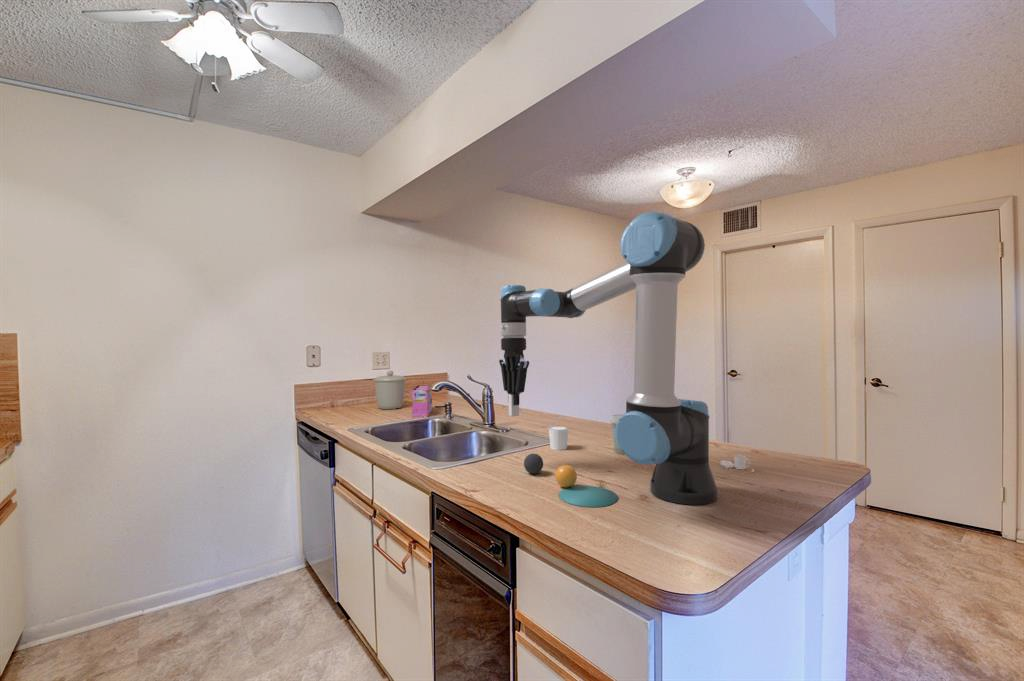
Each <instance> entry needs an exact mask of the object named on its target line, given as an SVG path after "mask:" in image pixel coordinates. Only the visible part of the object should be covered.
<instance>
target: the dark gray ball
mask: <svg viewBox="0 0 1024 681" xmlns="http://www.w3.org/2000/svg"><path fill="white" fill-rule="evenodd" d="M523 466H524V469H525V471H526V472H528V473H530V474H532V475H533V474H534V475H535V474H538V473H540V472H541V471H542V470H543V467H544V460H543V458H542V456H540V454H538V453H530V454H528V455H526V457H525V458H524V460H523Z"/></svg>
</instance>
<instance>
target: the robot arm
mask: <svg viewBox="0 0 1024 681" xmlns="http://www.w3.org/2000/svg"><path fill="white" fill-rule="evenodd" d="M619 245H620V253H621V256H622V257H623V259H624V260H625V262H623V263H621V264H619V265H617V266H615V267H613V268H610V269H608V270H606V271H605V272H603V273H600V274H599V275H597V276H594V277H592V278H591V279H588V280H587V281H584V282H583V283H580V284H579V285H576V286H574V287H572V288H571V289H568V290H566V291H555V290H554V289H552V288H539V289H533V290H527V289H526V286H525V285H521V284H510V285H509V284H506V285H504V286H502V287H501V289H500V290H501V291H500V298H499V301H500V319H501V321H500V322H501V325H500V329H501V330H500V332H501V333H500V334H501V337H502V338H501V339H500V345H501V346H500V348H501V349H500V350H502V351H504V352H503V358H502V359H499V360H498V363H499V366H500V368H501V369H500V370H501V377H502V384H503V391H504V392H507V394H508V396H507V397H508V399H507V401H508V416H509V417H516V416H520V394H522V393H525V390H526V389H525V387H526V382H527V380H526V379H527V374H528V368H529V366H530V361H529V360H526V359H525V356H524V355H525V354H524V351H526V350H527V339H526V338H525V337H526V336H527V317H528V318H529V317H531V318H532V317H549V318H550V317H551V318H554V317H555V318H567V319H573V318H574V319H575V318H580V317H582V316H583V315H584V314H585V312H586V311H587V310H589V309H592V308H594V307H596V306H598V305H600V304H603V303H606V302H608V301H610V300H612V299H615V298H617V297H619V296H622V295H625V294H627V293H628V292H632V291H634V290H636V291H635V292H636V294H635V330H634V336H635V337H634V364H633V366H634V367H633V368H634V369H633V392H632V393H631V394H630V395H629V396H628V397H627V398H626V402H625V403H626V405H625V413H623V414H624V415H623V416H622V417H621V418H620V419H619V420H618V422H617V425H616V439H617V442H618V444H619V446H620V448H621V450H622V451H624V453H625V456H626V457H627V458H628V459H629V460H631V461H632V462H634V463H635V464H636V463H637V464H639V465H643V466H648V465H649V466H650V465H655V467H654V469H653V472H652V476H651V479H650V482H649V483H650V486H649V487H650V489H649V490H650V493H651V494H652V495H653V496H654V497H656V498H659V499H661V500H663V501H668V502H670V503H674V504H682V505H690V506H691V505H693V506H694V505H696V506H698V505H706V504H707V505H708V504H711V503H714V502H715V501H717V499H718V487H717V485H716V482H715V479H714V475H713V472H712V470H711V466H710V462H709V461H710V456H709V455H710V453H709V452H710V450H709V449H710V436H709V435H710V432H709V430H710V429H709V428H710V424H709V423H710V415H709V406H708V404H707V403H706V402H705V401H702V400H692V399H683V398H678V397H677V396H676V395H675V381H676V380H675V379H676V378H675V376H676V375H675V374H676V349H677V348H676V347H677V345H676V344H677V343H676V342H677V316H678V315H677V314H678V313H677V311H678V285H679V284H680V283H681V281H683V279H685V278H686V272H688V271H690V270H692V269H694V267H696V266H697V265H698V264H699V262H700V261H701V260H702V258H703V255H704V253H705V249H706V248H705V245H706V244H705V238H704V236H703V233H702V232H701V230H700V229H699V228H698V227H697V226H696V225H694V224H693V223H690V222H688V221H684V220H681V219H679V218H676V217H673V216H671V215H669V214H667V213H663V212H656V211H648V212H645V213H642V214H640V215H637V216H636V217H635V218H633V219H632V220H631V222H630V223H629V224H628V225H627V226H626V228H625V229H624V230H623V232H622V236H621V239H620V244H619Z"/></svg>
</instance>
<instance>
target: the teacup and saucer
mask: <svg viewBox="0 0 1024 681" xmlns="http://www.w3.org/2000/svg"><path fill="white" fill-rule="evenodd" d="M747 461H748V464H747ZM733 462H734V463H733ZM733 462H731V461H729V460H721V461H720V463H719V464H720V465H721V466H722V467H726V468H729V469H733V468H735V469H736V470H737V469H744V470H745V469H748V468H747V467H750V464H751V460H750V459H749V458H747V457H746V455H742V454H733ZM746 464H747V465H746ZM734 465H735V466H734ZM745 466H747V467H745Z"/></svg>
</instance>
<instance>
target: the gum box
mask: <svg viewBox="0 0 1024 681" xmlns="http://www.w3.org/2000/svg"><path fill="white" fill-rule="evenodd" d="M431 388H432V389H433V386H432V384H429V385H428V386H426V385H424V386H423V385H422V386H421V385H416V386H415V387H414V388H413V389H412V390H411V409H412V410H411V412H412V413H411V416H412V418H421V417H420V416H428V415H429V416H430V414H431V413H430V412H432V411H433V397H432V396H433V392H432V391H433V390H432V391H431ZM431 410H432V411H431ZM429 416H428V417H429Z"/></svg>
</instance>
